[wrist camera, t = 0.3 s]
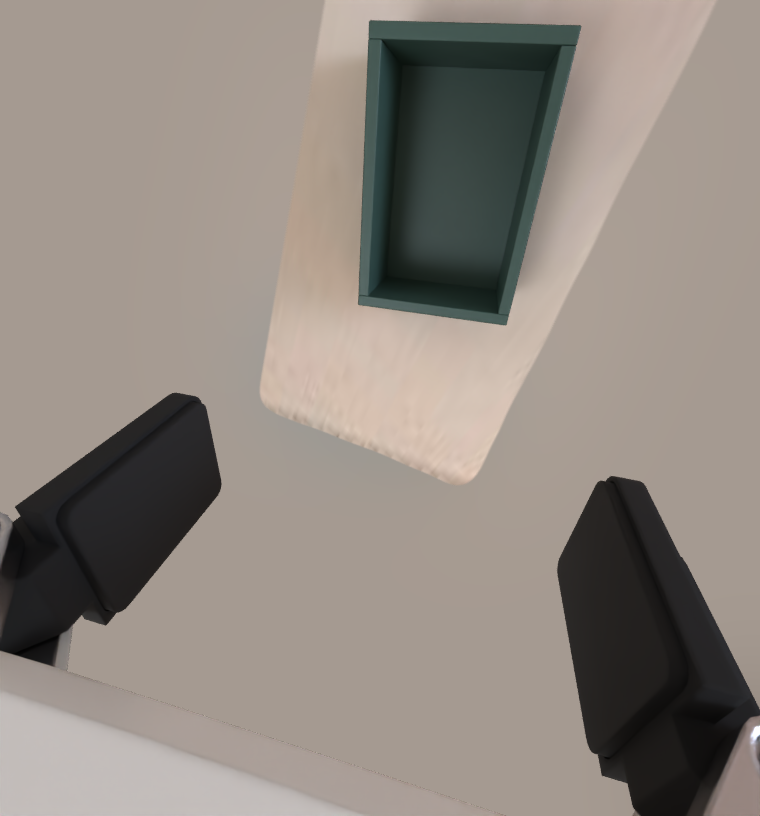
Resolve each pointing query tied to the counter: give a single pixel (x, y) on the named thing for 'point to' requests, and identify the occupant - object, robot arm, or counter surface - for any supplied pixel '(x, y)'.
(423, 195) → the bin
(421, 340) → the counter surface
